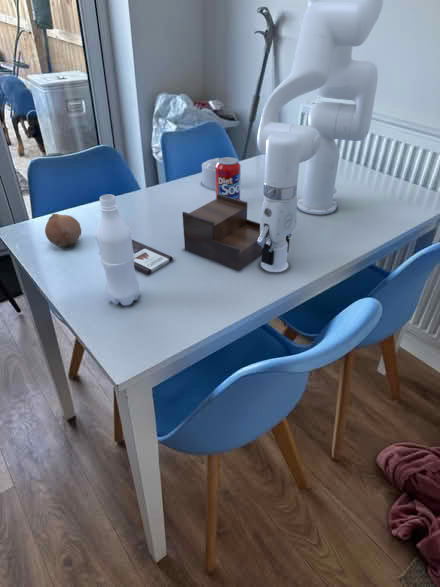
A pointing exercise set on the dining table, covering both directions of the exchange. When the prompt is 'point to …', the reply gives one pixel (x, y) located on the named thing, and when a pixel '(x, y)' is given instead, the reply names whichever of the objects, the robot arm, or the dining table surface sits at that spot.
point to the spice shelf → (222, 232)
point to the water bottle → (116, 253)
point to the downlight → (278, 256)
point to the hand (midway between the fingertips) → (275, 256)
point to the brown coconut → (62, 230)
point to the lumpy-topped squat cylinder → (209, 173)
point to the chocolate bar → (148, 258)
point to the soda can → (228, 177)
